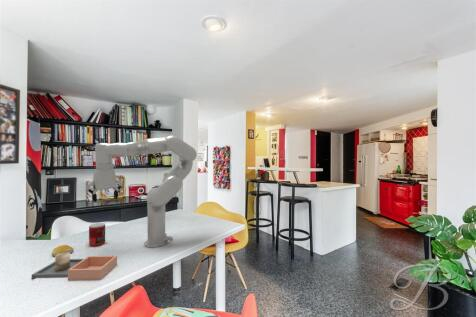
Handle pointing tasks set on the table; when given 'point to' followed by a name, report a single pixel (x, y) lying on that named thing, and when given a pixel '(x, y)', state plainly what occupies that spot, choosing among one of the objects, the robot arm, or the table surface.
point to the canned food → (96, 234)
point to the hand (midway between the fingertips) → (105, 200)
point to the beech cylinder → (62, 261)
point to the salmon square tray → (92, 268)
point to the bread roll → (62, 249)
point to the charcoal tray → (50, 270)
